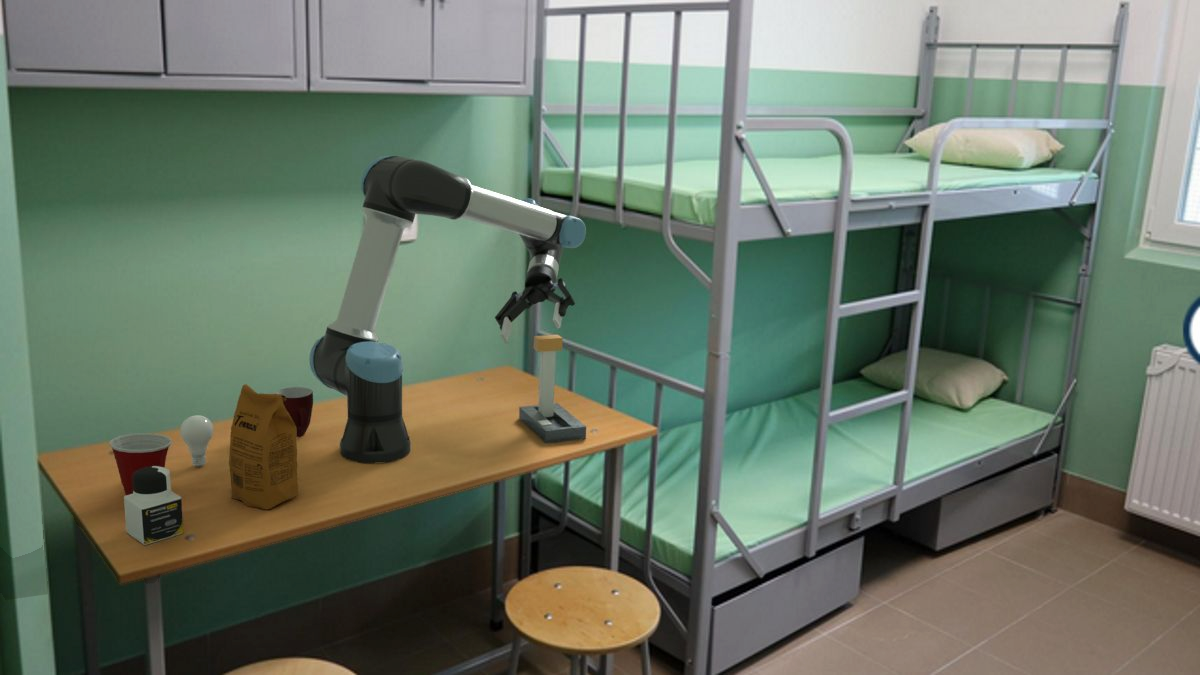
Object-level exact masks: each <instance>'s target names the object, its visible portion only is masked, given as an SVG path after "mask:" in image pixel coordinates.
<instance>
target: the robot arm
mask: <svg viewBox="0 0 1200 675" xmlns="http://www.w3.org/2000/svg"><path fill="white" fill-rule="evenodd" d="M360 190H361V191H362V193H363V194H362V195H363V197H364V200H363V204H362V208H361V209H362V211H363V213H364V215H365V218H366V219H365V222H364V225H363V229H362V233H361V237H360V238H359V242H358V246H357V249H356V252H355V257H354V258H353V259H354V260H353V263H352V266H351V270H350V273H349V277H348V280H347V283H346V288H345V290H344V293H343V297H342V300H341V303H340V308H339V310H338V314H337V317H336V320H335V321H333V322H331V323H329V324H328V325H327V327H326V330H325V334H324V335H321V337H320V338H319V339H317V340H316V341H315V342H314V343H313V346H312V347H311V349H310V353H309V367H310V370H311V372H312V374H313V376H314V377H315V378H316V379H317V380H318V381H319V382H320V383H321V384H323V385H324V386H326V387H327V388H329V389H332V390H334V391H337V392H338V393H340V394H343V395H344V396H346V397H347V398H346V400H347V401H346V403H347V419H346V423H345V426H344V430H343V431H344V432H343V436H342V437H341V439H340V442H339V455H341V457H342V458H344V459H345V460H348V461H351V462H355V463H360V464H383V463H389V462H394V461H398V460H401V459H404V458H405V457H407V456H408V455H409V454H410V453H411V444H412V443H411V438H410V436H409V433H408V429H407V426H406V423H405V421H404V418H403V372H404V367H403V366H404V365H403V361H402V355H401V352H400V351H399V350H398V349H397V348H396V347H395V346H392V345H390V344H388V343H385V342H382V343H380V342H379V337H378V335H377V334H376V332H375V331H376V330H375V329H376V326H377V322H378V320H379V315H380V313H381V312H380V311H381V309H382V306H383V302H384V298H385V295H386V291H387V288H388V286H389V285H388V284H389V281H390V279H391V274H392V271H393V268H394V265H395V260H396V256H397V253H398V251H399V247H400V244H401V240H402V238H403V233H404V231H405V229H406V228H408V227H409V226H411V225H413V224H414V221H415V217H416V215H423V216H424V215H425V216H434V217H441V218H446V219H449V220H454V221H456V220H459V219H461V218H463V219H466V220H469V221H473V222H476V223H480V224H484V225H488V226H490V227H494V228H497V229H499V230H505V231H508V232H512V233H515V234H518V235H519V237H520V239H521V240H522V241H523V242H522V243H524V245H525V247H526V249H527V251H528V252H529V254H530V260H529V264H528V268H527V273H526V278H525V280H524V290H523V291H522V292H519V293H518V292H517V291H512V293H511V295H510V298H509V299H508V300H507V302H506V303H505V304H504V305H503V306H502V308H501V309H500V310H499V311H498V313H497V314H496V315H495V317H494V319H495V321H496V323H497V324H498V325H499V330H500V337H501V339H502V340H503V342H504V343H505V344H508V343H509V340H510V336H511V332H512V327H513V323H512V322H514V321H515V319H517V318H518V317H519V316H520V315H522V313H523V312H524V311H526V309H527V310H528V309H530V308H531V307H532V306H533V305H536V304H538V303H543V302H545V301H548V302H550V303H553V304H555V306H554V311H553V317H552V322H553V324H554V326H555V328H556V329H557V330H558V329H561V326H562V322H563V320H562V319H563V317H565V316H566V314H567V309H569V308H568V307H569V306H571V307H573V306H574V305H575V304H576V302H575V300H574V299H573V296H572V295H571V294H570V292H569V290H568V289H567V285H566V282H565V281H564V280H563V278H561V277H560V278H558V274H559V270H560V269H559V268H560V263H561V259H562V256H563V252H564V248H566V249H567V248H569V249H576V248H578V247H580V246H581V245H582V244H583V242H585V240H586V235H587V228H586V224H585V222H584V221H583V220H582V219H581V218H579V217H575V216H574V215H568V214H564V213H560V212H558V211H553V210H551V209H549V208H545V207H542V206H539V204H538V203H537V202H536V201H535V200H534V199H533V198H529V197H528V198H523V199H516V198H514V197H512V196H508V195H504V194H501V193H499V192H495V191H493V190H491V189H490V190H489V189H485V188H483V187H480V186H477V185H473V184H471V182H470V180H469V179H468V178H467V177H464V176H461V175H458V174H455V173H453V172H450V171H448V170H447V169H444V168H441V167H439V166H437V165H435V164H432V163H430V162H427V161H424V160H420V159H413V158H409V157H405V156H404V157H403V156H398V155H384V156H381V157H377V158H376V159H374V160H372V161H370V163H368V164H367V165H366V167H365V169H364V170H363V172H362V175H361V179H360ZM556 290H557V291H559V292H561V293H562V295H563V296H564V297H563V296H560V295H558V294H556V293H555V291H556Z"/></svg>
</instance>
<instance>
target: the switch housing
mask: <svg viewBox="0 0 1200 675" xmlns="http://www.w3.org/2000/svg"><path fill="white" fill-rule="evenodd" d="M538 407H539V404H536V405H527V406H519V407H518V408H519V410H518V412H519V413H518V419H519V420H520V421H521V422H522V423H523V424H524V425H526V427H527V428H528V429H529V430H531V432H533V433H534V434H535V435H536V436H537V437H538V438H539V439H540V440H542V442H543V443H545V444H552V443H560V442H569V441H577V440H578V441H579V440H586V439H587V425H585V424H584V423H582V422H581V421H580V420H579V419H578V418H576V417H575V416H574V415H573V414H572V413H571V412H569V411H568V410H567V409H565V408H564V407H563V406H562V405H560V404H559V403H558V402H557V403H556V402H554V416H551V417H544V416H543V415H542V414H541V413H540V412H538Z"/></svg>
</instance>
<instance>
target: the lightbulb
mask: <svg viewBox="0 0 1200 675" xmlns="http://www.w3.org/2000/svg"><path fill="white" fill-rule="evenodd" d="M179 431H180V432H179V435H180V437H181V438H182V441H183V442H184V444H186V446H187V447H188V450H189V452H190V456H191V465H192V466H194V467H196V468H201V467H203V466H204V465H206V460H207V459H206V452H207V448H208V445H209V442H210V441H211V439H212V438H213V436H214V425H213V423H212V421H211V420H210V419H209V418H208V417H206V416H204V415H200V414H197V415H191V416H189V417H187V418H186V419H184V420H183V422H182V423H181V425H180V429H179Z"/></svg>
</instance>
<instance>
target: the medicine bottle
mask: <svg viewBox="0 0 1200 675" xmlns="http://www.w3.org/2000/svg"><path fill="white" fill-rule="evenodd" d="M170 472H171V471H170V470H169V469H168V468H166V467H165V468H164V467H159V466H150V467H145V468H141V469H139V470H137V471H135V472H134V473H133V475H132V483H133V494H130V495H124V496H123V503H124V504H123V505H124V516H125V528H126V533H127V534H128V535H130V536H131V538H134V539H135V540H137V541H138V542H139V543H141V544H142V545H144V546H148V545H151V544H153V543H157V542H160V541H163V540H167V539H171V538H173V537H177V536H180V535H182V534H183V533H184V519H183V517H184V516H183V506H182V505H183V504H182V496H180V495H179V494H176V493H175V492H173V490H172V488H171V473H170Z"/></svg>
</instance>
